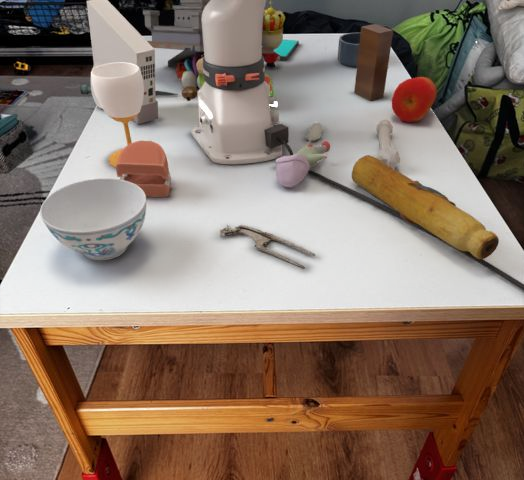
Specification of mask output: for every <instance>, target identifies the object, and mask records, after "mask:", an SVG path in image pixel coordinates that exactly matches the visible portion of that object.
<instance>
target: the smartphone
mask: <svg viewBox="0 0 524 480" xmlns="http://www.w3.org/2000/svg"><path fill="white" fill-rule="evenodd" d="M299 42H300V41H299V40H294V39H283V40H282V43H281V45H280V46H279V47H278V48H277V49H275V50H274V52H276V53H277V54H279V55H280V60H282V61H287V60H288V59H289V57H290V56H291V55H292V53H293V52H294V51H295V50H296V48H297V47H298V45H300V43H299ZM263 57H264V56H263ZM265 58H266V57H264V59H265ZM280 60H279V61H280Z"/></svg>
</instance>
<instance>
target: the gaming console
mask: <svg viewBox="0 0 524 480" xmlns="http://www.w3.org/2000/svg"><path fill="white" fill-rule="evenodd" d="M86 8H87V9H86V10H87V18H88V25H89V33H90V40H91V41H90V44H91V52H92V53H91V54H92V61H93V66H92V68H91V71H92V70H93V69H94V68H96V67H97V66H100V65H103V64H108V63H115V62H125V63H132V64H135V65H137V66H138V67H139V68H140V71H141V74H142V77H143V86H144V95H143V103H142V106H141V110H140V112H139V113H138V115H137V116H136V117H135V118H134V119H133V120H132V121H134V122H135V124H137V125H140V124H144V123H146V122H151V121H154V120H155V121H156V120H157V119H159V101H158V100H156V97H157V96H156V91H157V90H156V50H155V49H156V48H153V47H152V46H151V45H150V44H149V43H148V42H147V41H148V40H146V38H145V37H143V36H142V34H141V33H140V32H139V31H138V30H137V29H136V28H135V27H134V26H133V25H132V24H131V23H130V22H129V21H128V20H127V19H126V17H124V16H123V14H121V13H120V11H119V10H118V9H117V8H116V7H115V6H114V5H113V4H111V2H110V1H109V0H86ZM90 87H91V91H92V93H91V96H92V99H93V101H94V103H95V105H96V106H97V107H98V109H102V107H101V106H100V104H99V102H98V100H97V98H96V96H95V93H94V89H93V86H92V81H91V80H90Z"/></svg>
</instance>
